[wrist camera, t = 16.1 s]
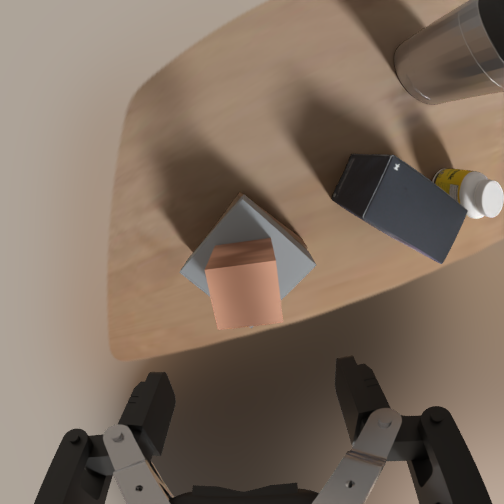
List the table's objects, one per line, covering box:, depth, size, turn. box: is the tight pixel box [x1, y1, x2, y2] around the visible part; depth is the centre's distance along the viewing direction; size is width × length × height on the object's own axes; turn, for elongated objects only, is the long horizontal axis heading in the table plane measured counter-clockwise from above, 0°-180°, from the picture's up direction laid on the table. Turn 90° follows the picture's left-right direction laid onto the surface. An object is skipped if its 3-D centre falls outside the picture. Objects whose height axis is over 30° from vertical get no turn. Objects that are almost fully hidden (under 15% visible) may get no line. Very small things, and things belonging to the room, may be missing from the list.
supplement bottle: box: [432, 168, 504, 219], centre depth 27 cm, size 5×5×10 cm
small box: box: [332, 154, 468, 264], centre depth 27 cm, size 11×6×10 cm, turn 66°
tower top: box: [180, 194, 316, 328], centre depth 29 cm, size 9×9×4 cm
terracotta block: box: [205, 238, 283, 330], centre depth 24 cm, size 5×5×6 cm
